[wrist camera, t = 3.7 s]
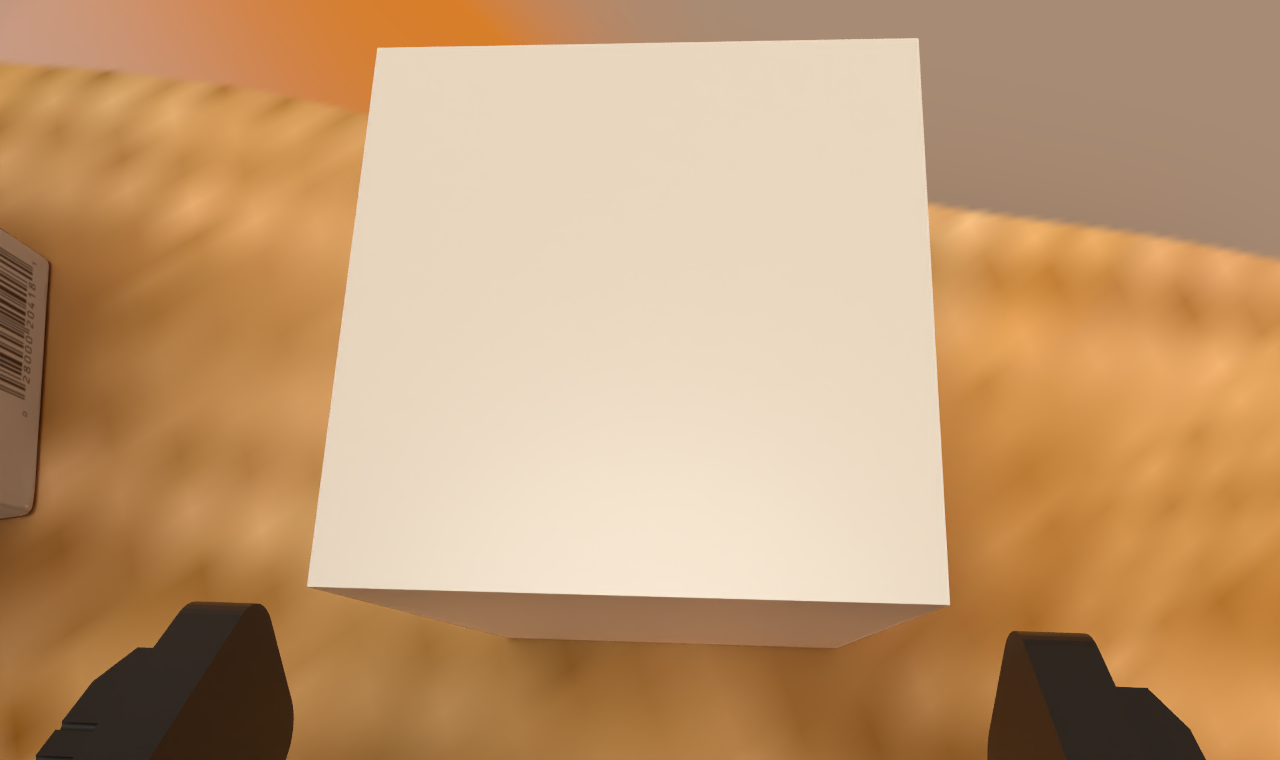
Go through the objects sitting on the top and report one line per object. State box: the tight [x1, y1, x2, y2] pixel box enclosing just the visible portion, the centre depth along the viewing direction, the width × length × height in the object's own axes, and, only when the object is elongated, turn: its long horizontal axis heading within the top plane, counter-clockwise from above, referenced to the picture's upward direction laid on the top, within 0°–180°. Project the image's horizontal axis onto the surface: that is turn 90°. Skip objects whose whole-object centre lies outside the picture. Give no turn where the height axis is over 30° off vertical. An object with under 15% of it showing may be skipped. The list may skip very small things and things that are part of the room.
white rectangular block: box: [307, 38, 950, 649], centre depth 16 cm, size 6×6×10 cm
